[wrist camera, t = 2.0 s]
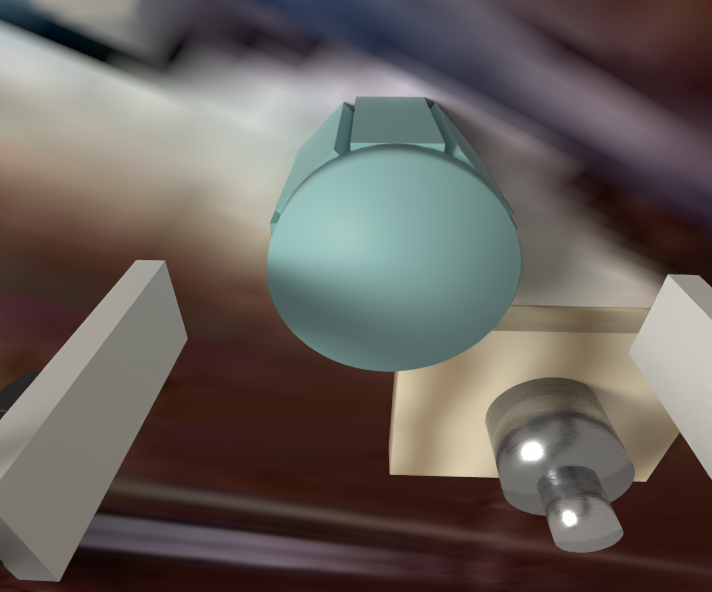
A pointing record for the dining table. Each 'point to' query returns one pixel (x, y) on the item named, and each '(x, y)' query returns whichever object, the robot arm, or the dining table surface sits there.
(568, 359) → the board
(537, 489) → the knobbed metal weight
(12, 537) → the robot arm
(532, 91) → the dining table surface
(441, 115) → the cap
